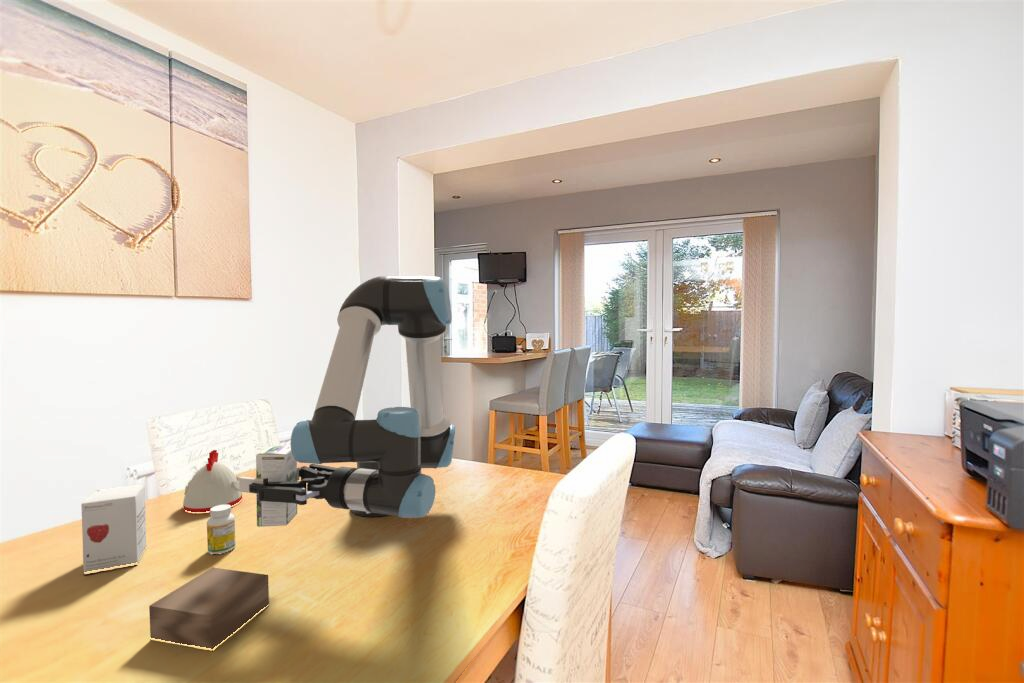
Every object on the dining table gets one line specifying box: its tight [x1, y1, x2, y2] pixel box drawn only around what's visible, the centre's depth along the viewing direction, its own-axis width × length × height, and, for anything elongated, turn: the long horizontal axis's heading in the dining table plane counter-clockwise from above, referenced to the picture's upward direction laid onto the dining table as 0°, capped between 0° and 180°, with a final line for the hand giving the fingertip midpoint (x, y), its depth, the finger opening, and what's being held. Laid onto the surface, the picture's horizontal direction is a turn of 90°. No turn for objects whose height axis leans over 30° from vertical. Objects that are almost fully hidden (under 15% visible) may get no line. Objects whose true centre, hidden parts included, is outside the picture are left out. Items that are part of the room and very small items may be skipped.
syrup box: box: [255, 445, 298, 528], centre depth 94 cm, size 6×6×14 cm
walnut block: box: [148, 567, 270, 649], centre depth 80 cm, size 12×12×6 cm
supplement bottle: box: [206, 504, 237, 555], centre depth 105 cm, size 5×5×10 cm
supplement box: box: [81, 483, 147, 573], centre depth 100 cm, size 9×9×15 cm
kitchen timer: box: [182, 449, 243, 512], centre depth 131 cm, size 14×14×15 cm
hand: (257, 477), depth 95 cm, fingers closed on syrup box, 7 cm apart
